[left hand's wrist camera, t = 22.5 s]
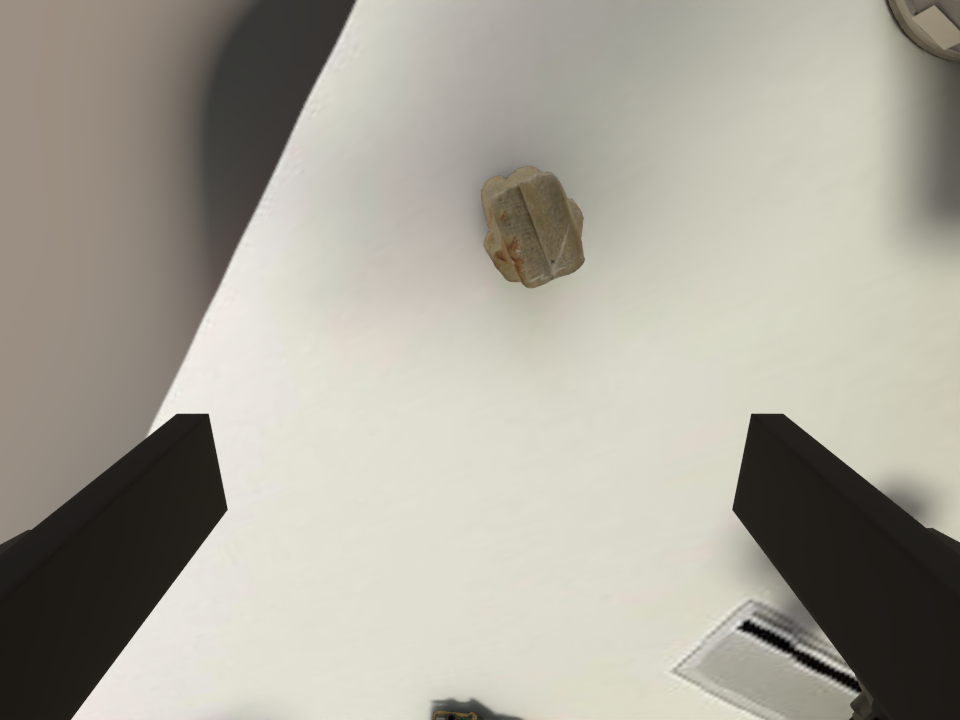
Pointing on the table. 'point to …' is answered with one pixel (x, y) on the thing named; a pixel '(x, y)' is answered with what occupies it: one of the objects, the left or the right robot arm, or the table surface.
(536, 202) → the sculpture
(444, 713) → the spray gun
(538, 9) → the table surface
